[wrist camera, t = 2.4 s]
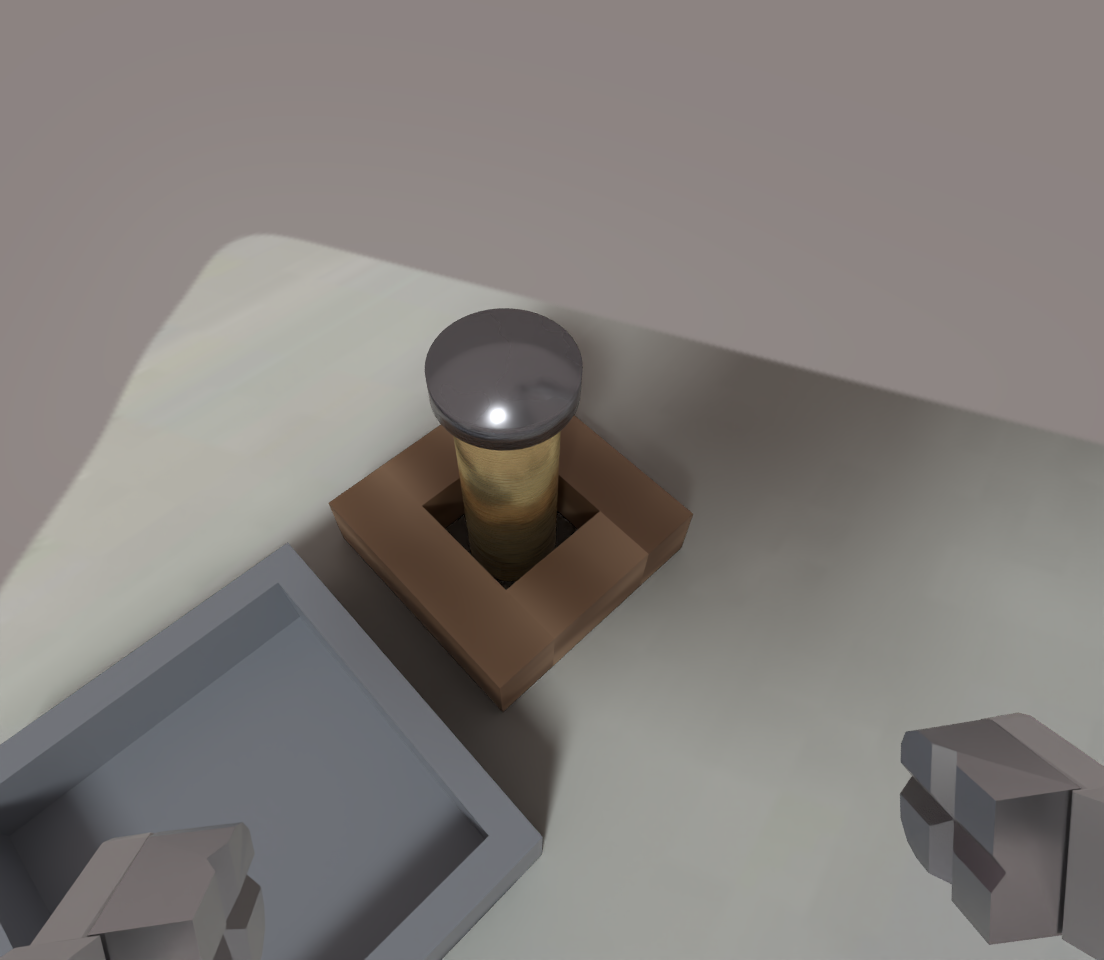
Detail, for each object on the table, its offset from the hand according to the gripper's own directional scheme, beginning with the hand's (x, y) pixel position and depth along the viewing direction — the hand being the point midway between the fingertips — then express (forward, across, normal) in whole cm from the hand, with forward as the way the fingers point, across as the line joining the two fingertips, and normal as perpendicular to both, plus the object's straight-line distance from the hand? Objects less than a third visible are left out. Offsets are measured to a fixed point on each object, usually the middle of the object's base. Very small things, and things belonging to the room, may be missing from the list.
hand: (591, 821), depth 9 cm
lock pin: (+20, 0, +2) cm, 20 cm away
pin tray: (+13, +9, +9) cm, 18 cm away
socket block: (+20, 0, +2) cm, 20 cm away
